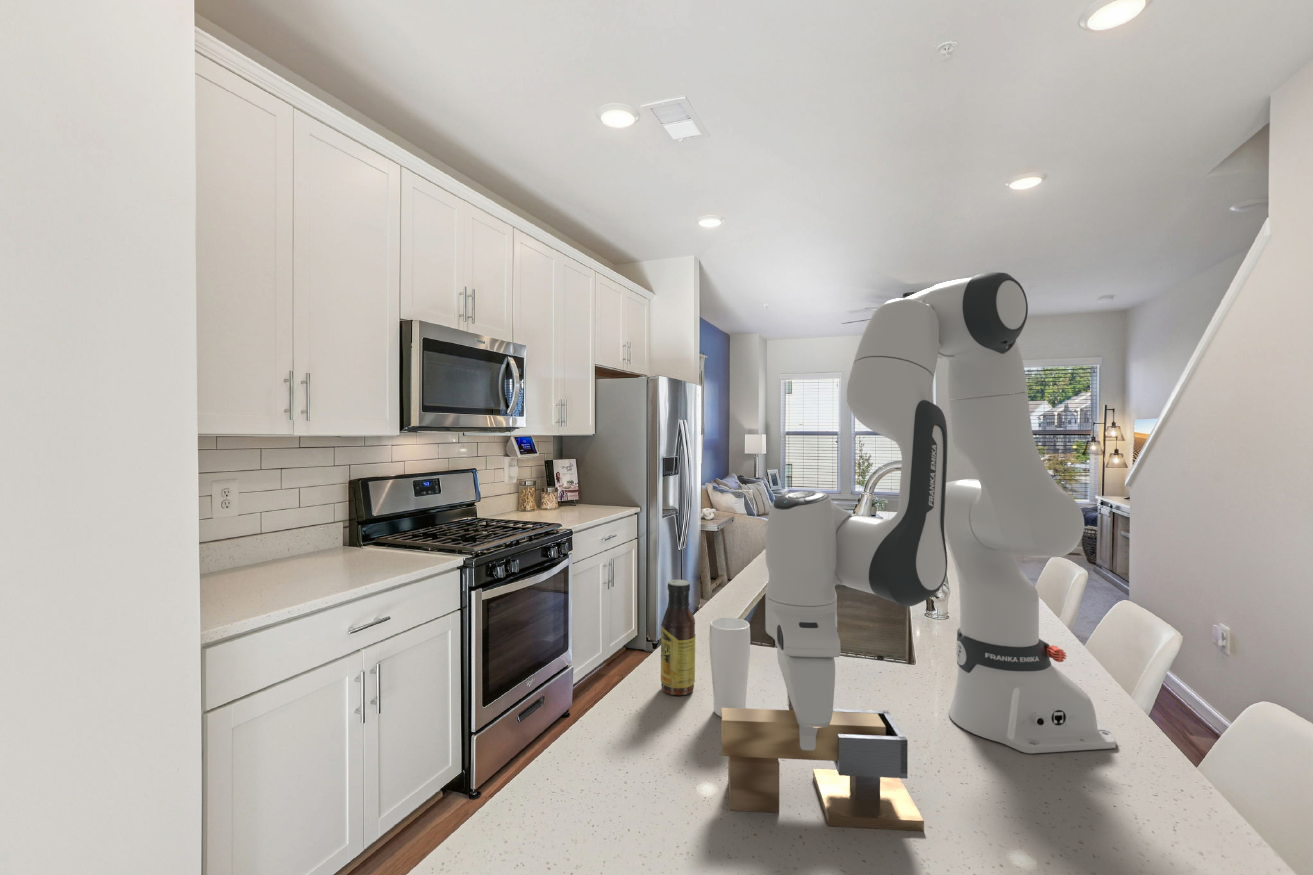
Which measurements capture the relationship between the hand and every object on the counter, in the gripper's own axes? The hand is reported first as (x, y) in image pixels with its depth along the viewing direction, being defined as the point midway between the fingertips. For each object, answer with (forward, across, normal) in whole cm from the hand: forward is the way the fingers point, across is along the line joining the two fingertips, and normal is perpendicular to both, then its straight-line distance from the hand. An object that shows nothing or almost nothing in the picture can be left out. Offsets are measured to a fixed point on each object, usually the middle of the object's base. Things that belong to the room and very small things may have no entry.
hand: (800, 727), depth 76 cm
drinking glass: (+9, -23, -8) cm, 26 cm away
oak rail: (+3, 0, 0) cm, 3 cm away
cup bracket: (+9, 0, +8) cm, 12 cm away
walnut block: (+9, 0, -6) cm, 11 cm away
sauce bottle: (+9, -31, -17) cm, 37 cm away
